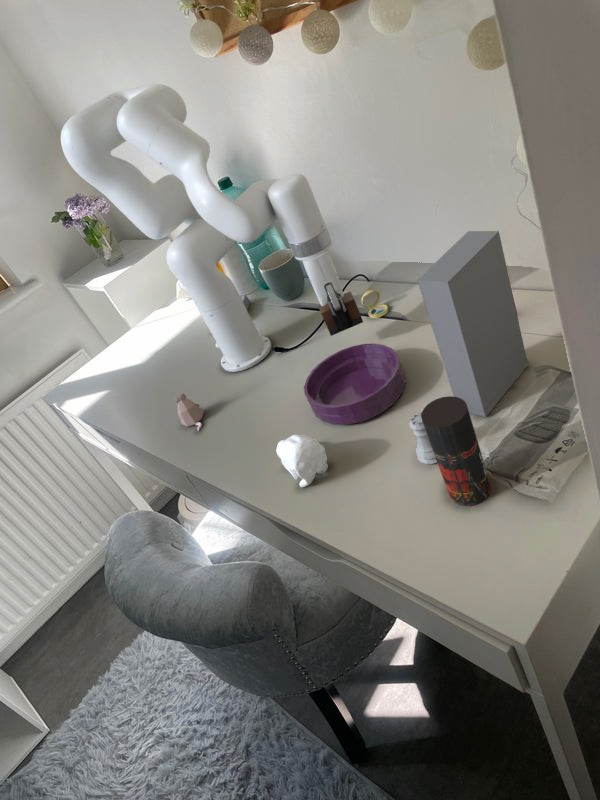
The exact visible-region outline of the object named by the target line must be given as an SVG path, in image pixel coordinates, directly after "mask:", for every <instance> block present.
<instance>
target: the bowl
mask: <svg viewBox="0 0 600 800" xmlns="http://www.w3.org/2000/svg"><path fill="white" fill-rule="evenodd" d="M406 381H407V377H406V374H405V371H404V367H403V366H402V363H401V360H400V357H399V355H398V353H397V352H396V351H395V350H394V349H393V348H392V347H390V346H388V345H385V344H382V343H361V344H356V345H352V346H350V347H346V348H344V349H341V350H339V351H337V352H335V353H333V354H331V355H329V356H328V357H326V358H324V359H323V360H322V361H321V362H319V363H318V364H317V365H316V366H315V367H314V368H313V369H312V370H311V371H310V373H309V374H308V376H307V377H306V379H305V382H304V386H303V391H304V395H305V397H306V400H307V402H308V404H309V406H310V408H311V411H312V412H313V414H314V415H315V417H316V418H317V419H319V420H320V421H322V422H324V423H327V424H330V425H338V426H339V425H341V426H345V425H351V424H358V423H361V422H364V421H367V420H370V419H373V418H374V417H375V416H378V415H380V414H382V413H383V412H385V411H386V410H387V409H389V408H390V407H391V406H392V405H394V404H395V402H396V401H397V400H398V399H399V398H400V397H401V396H402V394H403V392H404V390H405V387H406Z"/></svg>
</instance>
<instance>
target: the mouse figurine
mask: <svg viewBox="0 0 600 800" xmlns="http://www.w3.org/2000/svg"><path fill="white" fill-rule="evenodd" d="M174 402H175V403H177V417H178V418H179V420H180V422H181V425H183V426H185V427H192V426H194V425H195V426H197V432H200V429H201V428H202V427H203V425H202V423H201V421H202V419H203V417H204V411H203V409H202V408H201V407H200V403H195V402H194V401H193V400H191V399H189V398H187V395H186V394H185V393H183V392H182V393H181V394H180V395H179V396H175V397H174Z"/></svg>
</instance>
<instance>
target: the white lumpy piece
mask: <svg viewBox="0 0 600 800" xmlns="http://www.w3.org/2000/svg"><path fill="white" fill-rule="evenodd" d="M275 451H276V455H277V456H278V458H279V459H280V461H279V464H281V465H282V466H283V467H284V468H285V470H286V471H288V472H289V473H290V475H291V476H292V477H293V478H294V480H295V481H297V480H298V479H299V478H300V479H301V480H300V481H299V487H300V488H306V487H309V486H310V485H311V484H312V483H313V481H314V480H315V478H316V474H324V473H326V472H327V470H328V468H329V465H328V463H327V461H328V457H327V453H326V448H325V447H324V445H323V444H321V443H320V442H318V440H317V439H315V438H314V437H312V436H310V435H304V434H292V435H290V436H288V437H287V438H286V439H281V440H280V441H278V443H277V446H276V449H275Z"/></svg>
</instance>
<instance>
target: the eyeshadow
mask: <svg viewBox="0 0 600 800" xmlns="http://www.w3.org/2000/svg"><path fill="white" fill-rule="evenodd" d="M380 300H381V295H380V293H379V291H378V290H376V289H368V290H367V291H365V292H364V293H363V295H362V296H361V299H360V302H361V305H362V306H363V307H364V308H365V309H369V310H368V313H367V314H368V317H369V318H371V319H379V318H381V317H384V316H385V315H386V314H387V313H388V312H389V307H388V305H387V304H384V303H382V304H379V302H380Z"/></svg>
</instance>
